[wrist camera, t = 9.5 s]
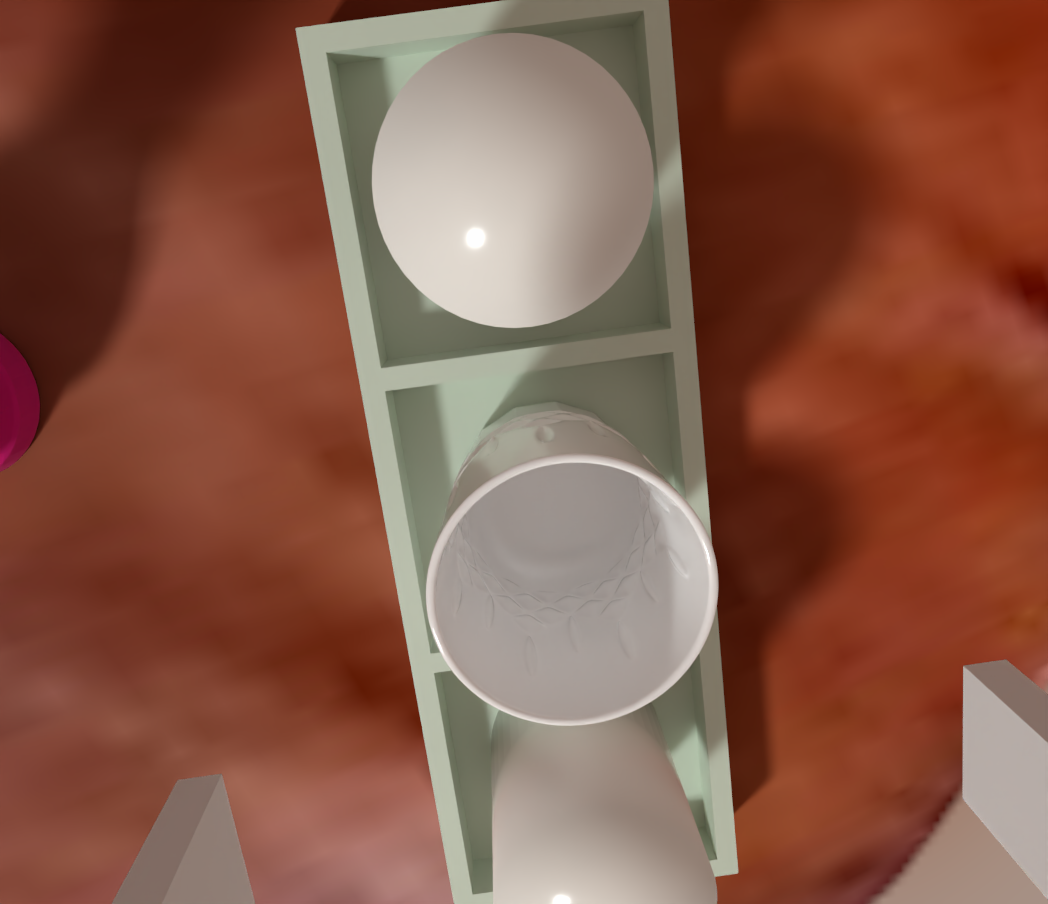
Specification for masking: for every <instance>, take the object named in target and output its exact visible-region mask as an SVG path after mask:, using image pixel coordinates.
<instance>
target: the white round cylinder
mask: <svg viewBox="0 0 1048 904" xmlns="http://www.w3.org/2000/svg"><path fill="white" fill-rule="evenodd" d="M653 190H654V173H653V162H652V155H651V149H650V145H649V142H648V138H647V135H646V131H645V128H644V126H643V124H642V121H641V119H640V117H639V114H638V112H637V110H636V108H635V107H634V105H633V103H632V102H631V100H630V98H629V97H628V95H627V94H626V92H625V91H624V90H623V89H622V87H621V86H620V85H619V83H618V82H617V81H616V80H615V79H614V78H613V77H612V76H611V75H610V74H609V73H608V72H607V71H606V70H605V69H604V68H603V67H602V66H601V65H599V64H598V63H597V62H595V61H594V60H593V59H591V58H590V57H589V56H587V55H586V54H584V53H582V52H581V51H579V50H577V49H575V48H573V47H571V46H570V45H567V44H564V43H562V42H559V41H557V40H554V39H551V38H547V37H543V36H538V35H534V34H523V33H500V34H491V35H486V36H481V37H477V38H473V39H471V40H468V41H465V42H462V43H459V44H457V45H455V46H453V47H451V48H449V49H447V50H446V51H444V52H442V53H440V54H439V55H437V56H436V57H434V58H433V59H432V60H430V61H429V62H428V63H426V64H425V65H424V66H423V67H422V68H420V69H419V70H418V71H417V72H416V73H415V74H414V75H413V76H412V77H411V78H410V79H409V81H408V82H407V83H406V84H405V86H404V87H403V88H402V89H401V91H400V92H399V93H398V95H397V96H396V98H395V100H394V101H393V103H392V105H391V106H390V108H389V110H388V112H387V114H386V117H385V119H384V121H383V124H382V126H381V128H380V132H379V135H378V139H377V142H376V146H375V151H374V158H373V165H372V193H373V202H374V208H375V212H376V217H377V221H378V225H379V228H380V230H381V233H382V236H383V238H384V241H385V243H386V245H387V247H388V249H389V251H390V253H391V255H392V257H393V259H394V260H395V262H396V263H397V264H398V266H399V267H400V269H401V270H402V272H403V273H404V274H405V276H406V277H407V278H408V279H409V280H410V281H411V282H412V283H413V284H414V286H415V287H416V288H417V289H418V290H420V291H421V292H422V293H423V294H424V295H425V296H427V297H428V298H429V299H430V300H431V301H433V302H434V303H436V304H437V305H439V306H441V307H442V308H444V309H445V310H447V311H449V312H451V313H453V314H455V315H457V316H459V317H461V318H464V319H467V320H470V321H473V322H476V323H479V324H484V325H489V326H494V327H505V328H522V327H533V326H538V325H543V324H548V323H551V322H554V321H557V320H560V319H563V318H566V317H568V316H570V315H572V314H574V313H576V312H578V311H580V310H582V309H583V308H585V307H586V306H588V305H589V304H591V303H592V302H594V301H595V300H597V299H598V298H599V297H600V296H601V295H603V294H604V293H605V292H606V291H607V290H608V289H609V288H611V286H612V285H613V284H614V283H615V282H616V281H617V280H618V278H619V277H620V276H621V275H622V274H623V272H624V271H625V270H626V268H627V267H628V265H629V264H630V262H631V261H632V259H633V258H634V256H635V254H636V252H637V250H638V248H639V246H640V244H641V242H642V239H643V236H644V233H645V231H646V228H647V225H648V221H649V217H650V212H651V208H652V201H653Z"/></svg>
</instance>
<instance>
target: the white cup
mask: <svg viewBox="0 0 1048 904" xmlns="http://www.w3.org/2000/svg"><path fill="white" fill-rule="evenodd" d="M717 601H718V569H717V563H716V558H715V554H714V550H713V547H712V544H711V541H710V538H709V536H708V534H707V531H706V529H705V527H704V526H703V524H702V522H701V520H700V519H699V517H698V516H697V514H696V513H695V511H694V510H693V508H692V507H691V506H690V505H689V503H688V502H687V501H686V500H685V499H684V498H683V497H682V496H681V495H680V494H679V492H678V491H677V490H676V489H675V488H674V487H673V486H672V485H671V484H670V483H669V482H668V480H667V479H666V478H665V477H664V476H663V475H662V474H661V473H660V472H659V470H658V469H657V468H656V467H655V466H654V465H653V464H652V463H651V462H650V460H649V459H648V458H647V457H646V456H645V455H643V454H642V453H641V452H640V451H639V450H638V449H637V448H636V447H635V446H634V445H633V444H632V443H631V442H629V441H628V440H627V439H626V438H625V437H624V436H623V435H622V434H621V433H619V432H618V431H616V430H614V429H613V428H611V427H610V426H609V425H608V424H606V423H605V422H604V421H603V420H602V419H601V418H600V417H599V416H598V415H597V414H595V413H594V412H591V411H588V410H584V409H581V408H577V407H574V406H570V405H567V404H564V403H560V402H557V401H552V402H546V403H540V404H534V405H528V406H522V407H515V408H513V409H512V410H511V411H509V412H508V413H506V414H505V415H503V416H502V417H500V418H499V419H497V420H496V421H495V422H493V423H492V424H490V425H489V426H487V427H486V428H484V429H483V430H482V431H481V432H480V434H479V435H478V437H477V439H476V441H475V442H474V444H473V446H472V448H471V449H470V451H469V453H468V455H467V456H466V458H465V460H464V462H463V463H462V465H461V468H460V470H459V472H458V475H457V477H456V480H455V482H454V485H453V487H452V490H451V494H450V496H449V499H448V501H447V504H446V508H445V511H444V515H443V518H442V522H441V526H440V529H439V533H438V536H437V539H436V543H435V546H434V549H433V553H432V556H431V559H430V563H429V568H428V573H427V581H426V607H427V614H428V620H429V624H430V628H431V631H432V634H433V637H434V640H435V642H436V644H437V647H438V649H439V651H440V653H441V655H442V656H443V658H444V660H445V661H446V663H447V665H448V666H449V667H450V669H451V670H452V671H453V673H454V674H455V675H456V676H457V678H458V679H459V680H460V681H461V682H462V683H463V684H464V685H465V686H466V687H467V688H468V689H469V690H471V691H472V692H473V693H474V694H475V695H477V696H478V697H479V698H481V699H482V700H484V701H485V702H487V703H488V704H490V705H491V706H493V707H495V708H497V709H499V710H501V711H503V712H505V713H507V714H510V715H512V716H515V717H518V718H521V719H524V720H528V721H532V722H536V723H541V724H548V725H559V726H576V725H587V724H594V723H599V722H604V721H608V720H611V719H615V718H618V717H621V716H623V715H626V714H628V713H631V712H633V711H635V710H637V709H639V708H641V707H643V706H645V705H647V704H648V703H650V702H652V701H653V700H655V699H656V698H658V697H659V696H660V695H662V694H663V693H664V692H666V691H667V690H668V689H669V688H670V687H672V686H673V685H674V684H675V683H676V682H677V681H678V680H679V679H680V678H681V677H682V676H683V675H684V673H685V672H686V671H687V670H688V669H689V667H690V666H691V665H692V663H693V662H694V661H695V659H696V658H697V656H698V654H699V653H700V651H701V649H702V648H703V646H704V644H705V642H706V640H707V637H708V635H709V632H710V630H711V627H712V624H713V621H714V617H715V612H716V607H717Z"/></svg>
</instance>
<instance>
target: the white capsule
mask: <svg viewBox="0 0 1048 904" xmlns="http://www.w3.org/2000/svg"><path fill="white" fill-rule="evenodd" d="M491 783H492V855H493V904H717V887H716V881H715V876H714V873H713V870H712V867H711V864H710V862H709V859H708V856H707V853H706V851H705V848H704V845H703V842H702V839H701V837H700V834H699V831H698V828H697V825H696V823H695V820H694V817H693V814H692V811H691V809H690V806H689V803H688V800H687V797H686V795H685V792H684V789H683V786H682V784H681V781H680V778H679V775H678V772H677V770H676V767H675V764H674V761H673V758H672V756H671V753H670V750H669V747H668V744H667V742H666V739H665V736H664V733H663V730H662V728H661V725H660V722H659V719H658V717H657V714H656V711H655V709H654V707H653V705H652V703H651V702H650V703H648V704H647V705H645V706H643V707H641V708H639V709H637V710H635V711H633V712H631V713H628V714H626V715H623V716H621V717H618V718H615V719H611V720H608V721H604V722H599V723H594V724H587V725H576V726H559V725H548V724H541V723H536V722H532V721H528V720H524V719H521V718H518V717H515V716H512V715H510V714H507V713H505V712H503V711H501V710H499V711H498V713H497V715H496V718H495V721H494V724H493V728H492V734H491Z"/></svg>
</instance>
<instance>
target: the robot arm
mask: <svg viewBox="0 0 1048 904" xmlns="http://www.w3.org/2000/svg"><path fill="white" fill-rule="evenodd" d="M963 800H964V801H965V802H966V803H967V804H968V806H969V807H970V808H971V809H972V810H973V812H974V813H975V814H976V815H977V816H978V817H979V819H980V820H981V821H982V822H983V824H984V825H985V826H986V827H987V828H988V829H989V831H990V832H991V833H992V834H993V835H994V837H995V838H996V839H997V840H998V841H999V843H1000V844H1001V845H1002V846H1003V847H1004V849H1005V850H1006V851H1007V852H1008V853H1009V854H1010V856H1011V857H1012V858H1013V859H1014V860H1015V862H1016V863H1017V864H1018V865H1019V866H1020V867H1021V869H1022V870H1023V871H1024V872H1025V873H1026V875H1027V876H1028V877H1029V878H1030V879H1031V881H1032V882H1033V883H1034V884H1035V885H1036V887H1037V888H1038V889H1039V890H1040V891H1041V892H1042V894H1043V895H1044V896H1045V897H1046V898H1047V899H1048V694H1047V693H1046V692H1044V691H1043V690H1042V689H1041V688H1040V687H1038V686H1037V685H1036V684H1035V683H1034V682H1032V681H1031V680H1030V679H1029V678H1028V677H1026V676H1025V675H1024V674H1023V673H1022V672H1020V671H1019V670H1018V669H1017V668H1015V667H1014V666H1013V665H1012V664H1011V663H1009V662H1008V661H1007V660H1000V661H993V662H986V663H979V664H972V665H966V666H963ZM112 904H255V901H254V897H253V893H252V889H251V886H250V882H249V878H248V874H247V870H246V866H245V862H244V858H243V855H242V851H241V847H240V843H239V839H238V835H237V831H236V827H235V824H234V820H233V816H232V812H231V808H230V804H229V800H228V796H227V792H226V789H225V785H224V781H223V777H222V774H217V775H210V776H203V777H196V778H189V779H182V780H178V781H177V782H176V784H175V786H174V788H173V790H172V792H171V794H170V796H169V797H168V799H167V801H166V803H165V805H164V807H163V809H162V811H161V812H160V814H159V816H158V818H157V820H156V822H155V824H154V826H153V827H152V829H151V831H150V833H149V835H148V837H147V839H146V840H145V842H144V844H143V846H142V848H141V850H140V852H139V854H138V855H137V857H136V859H135V861H134V863H133V865H132V867H131V869H130V870H129V872H128V874H127V876H126V878H125V880H124V882H123V884H122V885H121V887H120V889H119V891H118V893H117V895H116V897H115V899H114V900H113V902H112Z"/></svg>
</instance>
